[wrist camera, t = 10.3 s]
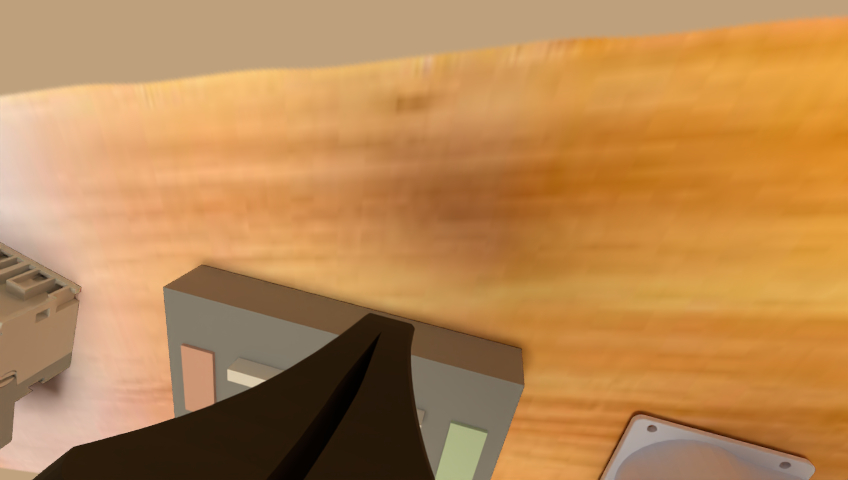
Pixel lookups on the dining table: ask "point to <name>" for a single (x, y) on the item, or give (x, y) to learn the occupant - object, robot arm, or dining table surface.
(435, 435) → the slider control box
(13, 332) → the circuit breaker
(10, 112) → the dining table surface
